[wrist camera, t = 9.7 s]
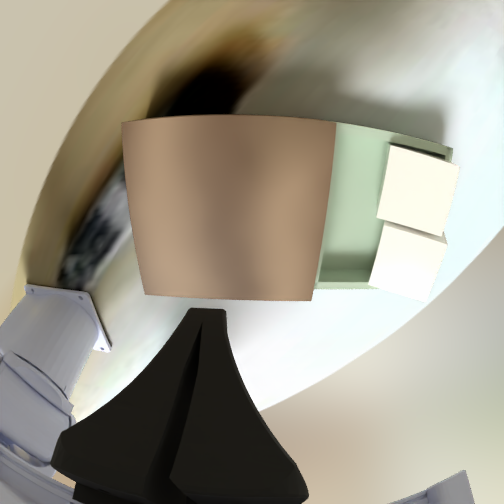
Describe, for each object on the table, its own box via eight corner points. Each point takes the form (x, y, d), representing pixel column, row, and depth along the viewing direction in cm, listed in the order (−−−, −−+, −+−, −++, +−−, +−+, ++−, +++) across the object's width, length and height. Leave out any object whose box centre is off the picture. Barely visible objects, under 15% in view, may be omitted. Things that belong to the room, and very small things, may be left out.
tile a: (425, 302, 16) (425, 283, 18) (447, 244, 14) (443, 230, 16) (368, 284, 18) (373, 267, 20) (383, 225, 16) (386, 213, 18)
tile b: (441, 236, 14) (434, 223, 16) (460, 166, 12) (449, 161, 14) (376, 217, 15) (376, 206, 17) (390, 145, 13) (388, 142, 15)
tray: (303, 271, 21) (308, 289, 19) (320, 119, 15) (330, 121, 13) (404, 272, 21) (415, 287, 19) (435, 142, 15) (453, 148, 13)
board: (158, 266, 20) (144, 294, 17) (145, 118, 15) (121, 122, 12) (303, 271, 21) (311, 301, 18) (320, 119, 15) (336, 122, 12)
